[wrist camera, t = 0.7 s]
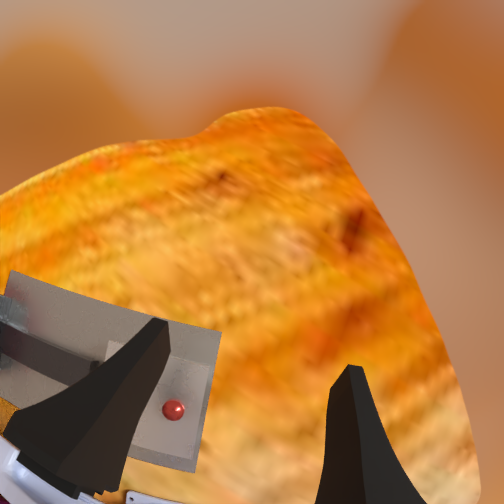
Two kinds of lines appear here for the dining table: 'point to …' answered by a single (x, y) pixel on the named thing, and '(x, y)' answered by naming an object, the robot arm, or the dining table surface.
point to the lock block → (171, 407)
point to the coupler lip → (81, 347)
